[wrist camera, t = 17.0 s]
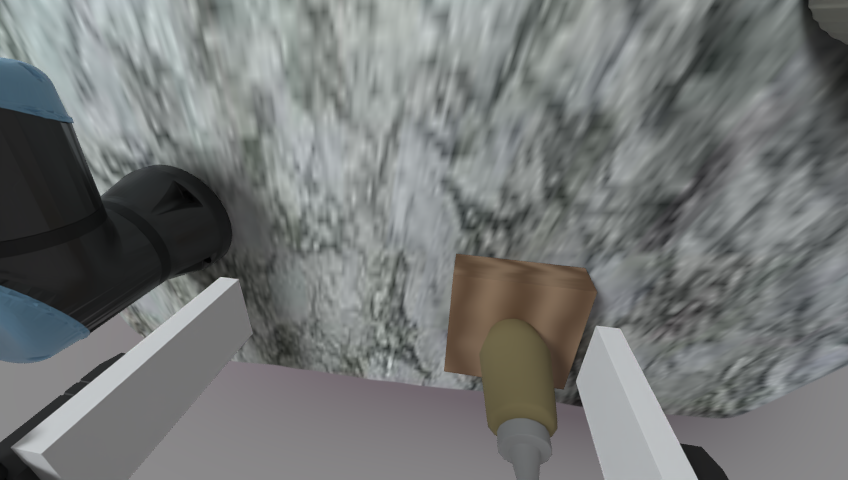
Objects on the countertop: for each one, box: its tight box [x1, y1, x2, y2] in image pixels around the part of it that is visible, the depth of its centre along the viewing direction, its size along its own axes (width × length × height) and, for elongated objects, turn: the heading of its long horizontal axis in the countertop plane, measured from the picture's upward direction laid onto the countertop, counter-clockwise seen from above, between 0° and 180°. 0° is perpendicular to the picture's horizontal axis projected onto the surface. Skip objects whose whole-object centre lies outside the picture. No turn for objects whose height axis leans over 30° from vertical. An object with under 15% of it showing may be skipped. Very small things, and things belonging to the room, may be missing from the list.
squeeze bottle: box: [479, 319, 557, 480], centre depth 34 cm, size 8×8×18 cm
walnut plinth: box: [444, 254, 597, 389], centre depth 44 cm, size 16×16×5 cm
